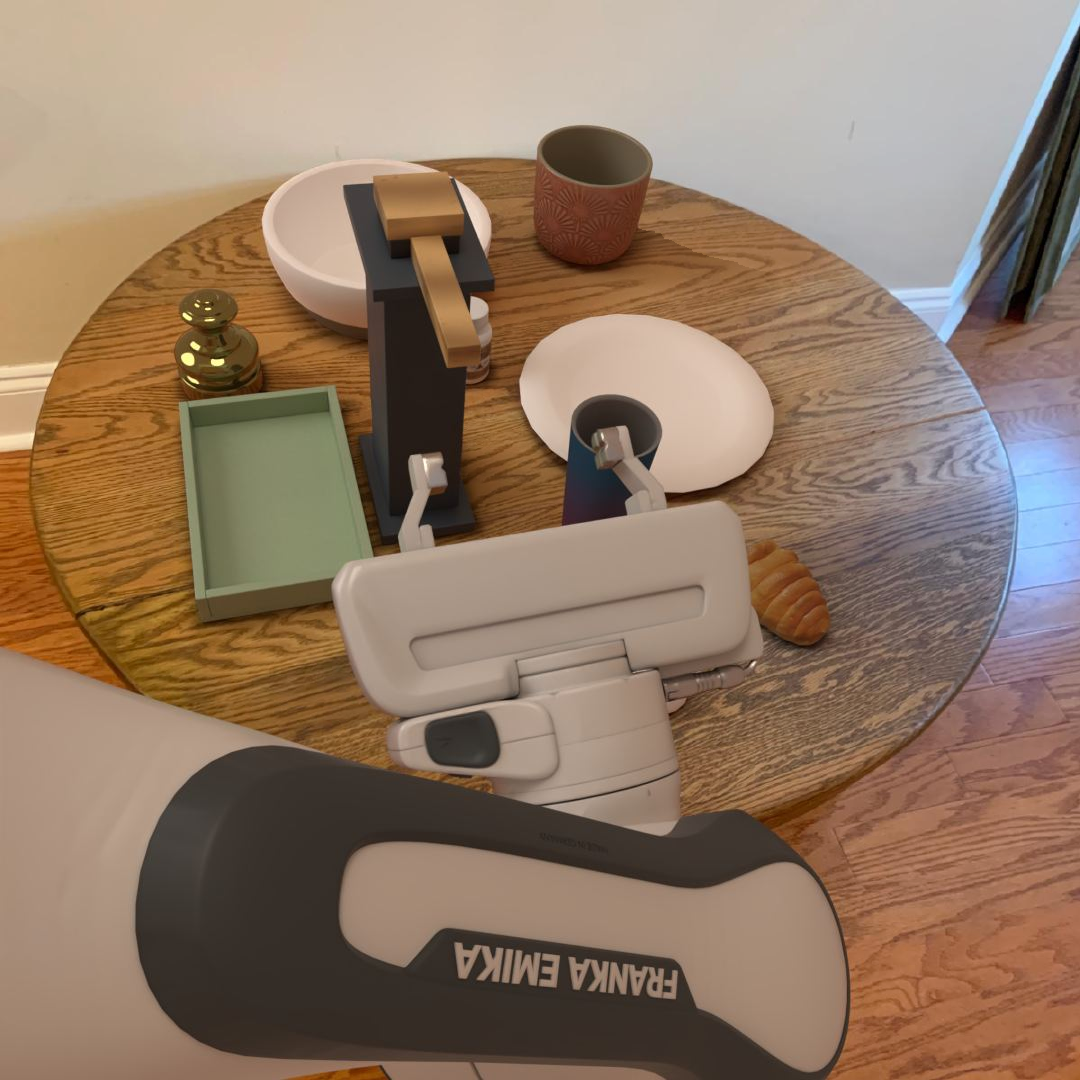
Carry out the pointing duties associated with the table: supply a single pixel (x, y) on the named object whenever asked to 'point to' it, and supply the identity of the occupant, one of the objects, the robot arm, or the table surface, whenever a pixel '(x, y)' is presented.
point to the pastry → (786, 594)
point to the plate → (654, 394)
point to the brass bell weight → (216, 348)
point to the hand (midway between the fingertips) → (518, 442)
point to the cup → (585, 485)
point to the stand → (412, 375)
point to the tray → (269, 500)
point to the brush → (430, 252)
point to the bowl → (335, 239)
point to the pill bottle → (484, 332)
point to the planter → (589, 192)
